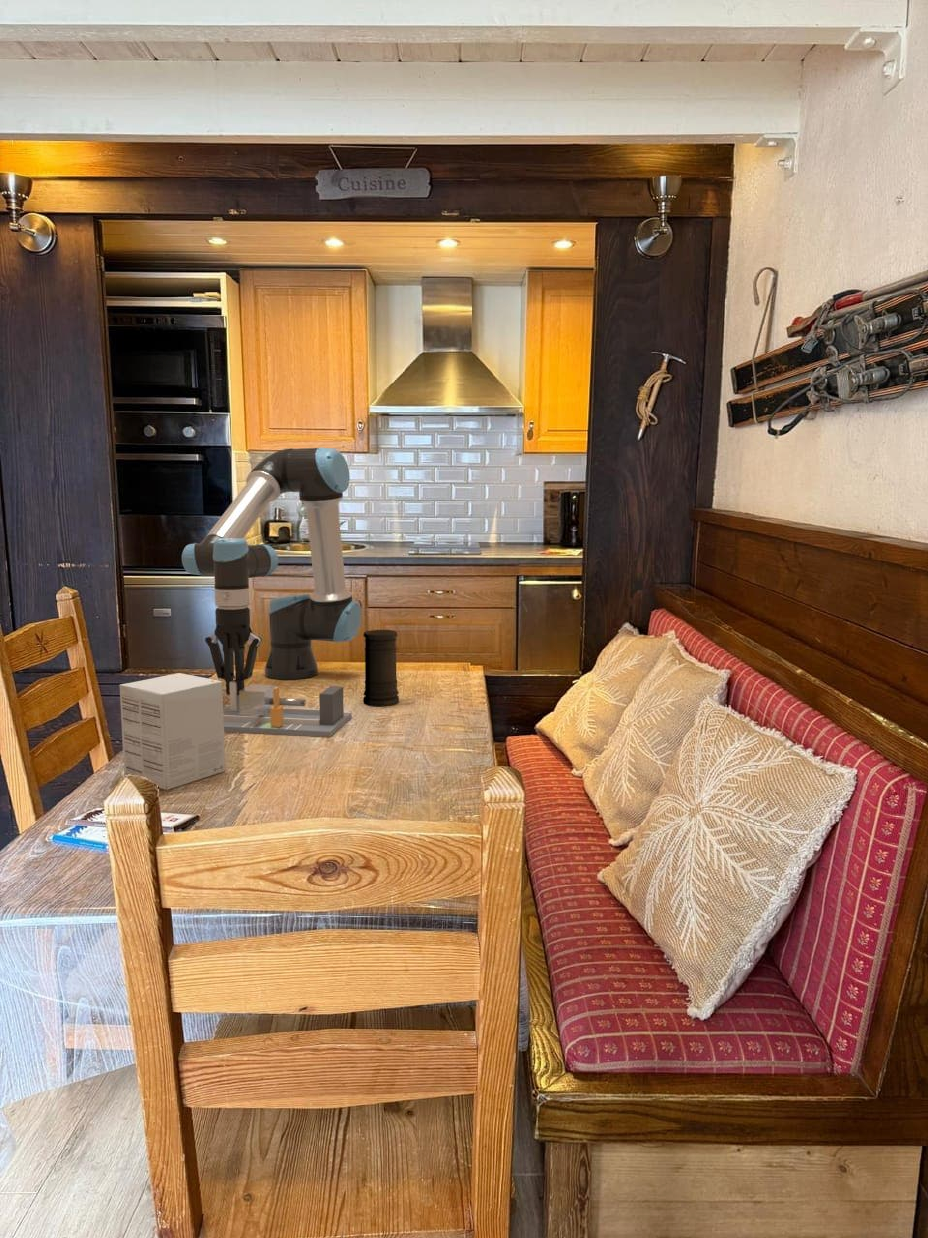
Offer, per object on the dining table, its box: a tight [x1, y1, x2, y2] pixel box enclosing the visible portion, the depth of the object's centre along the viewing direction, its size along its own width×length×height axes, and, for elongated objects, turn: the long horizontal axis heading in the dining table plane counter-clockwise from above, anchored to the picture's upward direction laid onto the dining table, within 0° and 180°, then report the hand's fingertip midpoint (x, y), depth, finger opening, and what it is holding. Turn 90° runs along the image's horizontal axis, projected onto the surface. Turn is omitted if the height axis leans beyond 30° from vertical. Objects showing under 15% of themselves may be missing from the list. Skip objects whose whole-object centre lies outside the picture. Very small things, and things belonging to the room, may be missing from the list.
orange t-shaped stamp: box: [270, 686, 284, 727], centre depth 183 cm, size 2×2×8 cm
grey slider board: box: [223, 685, 353, 738], centre depth 189 cm, size 16×32×8 cm, turn 81°
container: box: [362, 629, 400, 707], centre depth 209 cm, size 9×9×18 cm
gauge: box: [239, 683, 307, 717], centre depth 188 cm, size 12×14×6 cm
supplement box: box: [118, 672, 227, 791], centre depth 154 cm, size 13×13×18 cm
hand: (235, 708), depth 192 cm, fingers closed
